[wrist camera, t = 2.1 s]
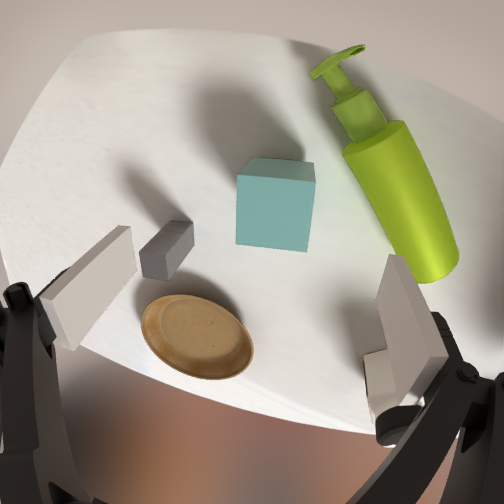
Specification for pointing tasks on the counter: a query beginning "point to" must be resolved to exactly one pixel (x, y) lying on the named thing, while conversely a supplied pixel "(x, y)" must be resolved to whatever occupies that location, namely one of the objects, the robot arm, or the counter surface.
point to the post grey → (167, 250)
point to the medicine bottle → (386, 400)
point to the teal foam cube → (275, 204)
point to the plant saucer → (197, 337)
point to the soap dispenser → (392, 176)
